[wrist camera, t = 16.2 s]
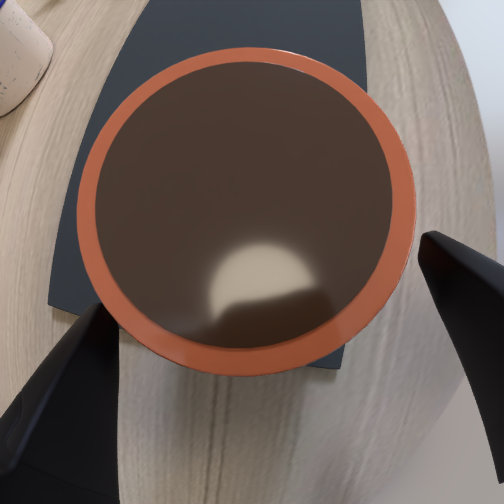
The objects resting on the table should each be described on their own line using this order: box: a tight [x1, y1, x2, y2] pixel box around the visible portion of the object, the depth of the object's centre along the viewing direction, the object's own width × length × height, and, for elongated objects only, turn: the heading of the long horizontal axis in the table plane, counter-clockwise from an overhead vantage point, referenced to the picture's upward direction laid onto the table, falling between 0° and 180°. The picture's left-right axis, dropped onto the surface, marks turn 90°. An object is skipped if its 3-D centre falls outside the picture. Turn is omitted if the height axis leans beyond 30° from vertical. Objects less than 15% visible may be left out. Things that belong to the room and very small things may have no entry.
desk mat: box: [48, 0, 367, 369], centre depth 16 cm, size 40×16×1 cm, turn 171°
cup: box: [77, 47, 416, 377], centre depth 9 cm, size 6×6×9 cm
